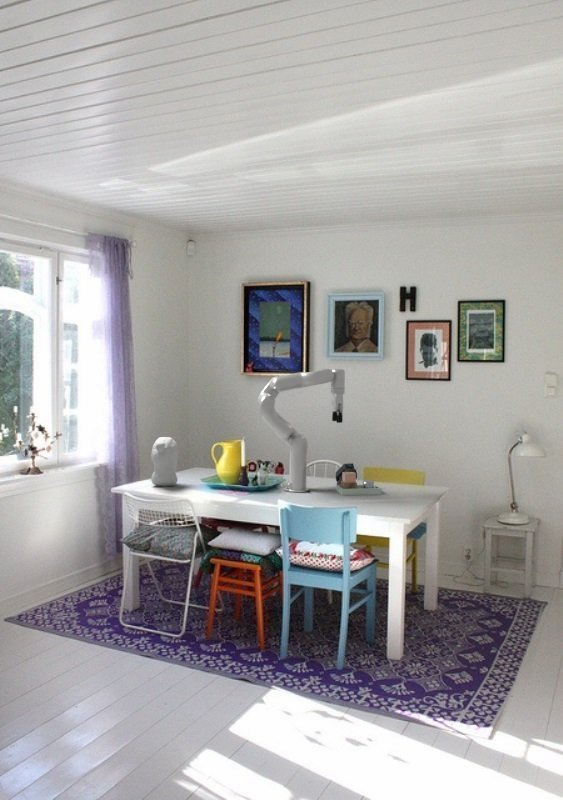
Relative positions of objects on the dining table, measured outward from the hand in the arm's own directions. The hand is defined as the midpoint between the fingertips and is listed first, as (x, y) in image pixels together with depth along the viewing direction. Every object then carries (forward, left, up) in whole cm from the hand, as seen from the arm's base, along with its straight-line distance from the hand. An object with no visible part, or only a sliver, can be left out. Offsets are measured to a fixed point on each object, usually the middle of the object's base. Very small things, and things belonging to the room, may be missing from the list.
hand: (337, 421), depth 416 cm
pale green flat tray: (+9, -14, -38) cm, 42 cm away
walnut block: (+4, -14, -38) cm, 40 cm away
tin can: (+14, -14, -38) cm, 43 cm away
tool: (+7, +5, -39) cm, 40 cm away
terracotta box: (+4, -14, -32) cm, 35 cm away
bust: (-95, +20, -38) cm, 104 cm away
